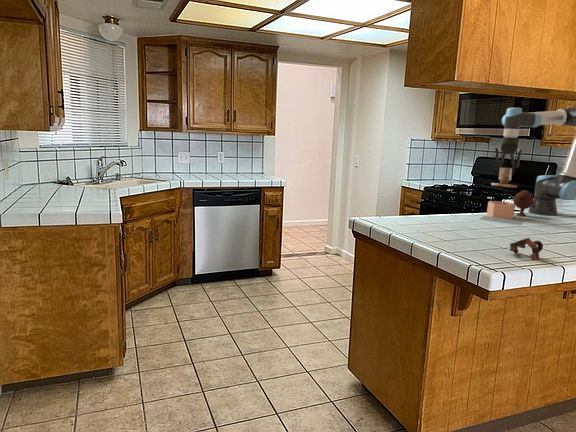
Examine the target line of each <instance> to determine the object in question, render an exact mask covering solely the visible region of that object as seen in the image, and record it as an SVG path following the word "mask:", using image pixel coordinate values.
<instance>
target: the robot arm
mask: <svg viewBox="0 0 576 432" xmlns="http://www.w3.org/2000/svg"><path fill="white" fill-rule="evenodd" d="M501 124H502V125H503V126H504V128H503V134H502V136H503V137H502V142H501V145H500V147H496V148H495V161H494V166H495V167H497V173H496V174H498V180H499V181H500V178H501V171H502V168H503V167H502V165H503V163H504V160H505V158H506V155H509V156H510V163H511V167H510V168H511V169H510V174H509V182H510V181H512V176H513V175H515V169H518V168H519V166H520V161H521V155H522V153H523V149H521V148H519V147H518V142H519V138H518V137H519V136H520V135H519V134H520V128H538V127H539V126H546V125H547V126H548V125H556V126H558V127H559V126H561V127H562V126H567V127H574V130H575V131H576V106H572V107H566V108H558V109H557V110H549V111H535V112H532V111H531V112H525V111H524V112H523V108H521V107H508V108H507V109H506V112H505V114H504V115H503V116H502V118H501ZM516 151H517V157H516V163H515V154H514V153H516ZM500 152H502V155H501V157H500ZM499 158H500V160H499ZM557 199H558V200H563V201H574V200H575V199H576V132H575V133H574V136H573V139H572V142H571V145H570V147H569V151H568V153H567V157H566V159H565V163H564V165H563V169H562V171H561V172H559V173H558V174H557V175H556V174H554V175H551V174H549V175H547V174H546V175H543V174H542V175H538V176H537V177H536V181H535V186H534V196H533V200H534V203H533V204H532V206H530V207H529V208H528V212H529V213H532V214H536V215H543V216H557V215H558V207H557V203H556V201H557Z"/></svg>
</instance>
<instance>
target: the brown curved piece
mask: <svg viewBox="0 0 576 432" xmlns="http://www.w3.org/2000/svg"><path fill="white" fill-rule="evenodd" d="M526 245H527V246H528V247H529V248H531V251H532V253H531V254H529V257H530V260H531V261H536V260H539V259H540V252H541V251H542V250H543V248H544V244H543V243H542V242H541V240H535V241H533V240H531V239H530V237H526V238H523V239H520V240H518V241H516V242H512V243H509V247H510V248H509V251H511V252H513V253H514V254H518V253H519V249H518V248H522V249H526Z"/></svg>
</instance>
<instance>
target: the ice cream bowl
mask: <svg viewBox="0 0 576 432" xmlns="http://www.w3.org/2000/svg"><path fill="white" fill-rule="evenodd" d="M512 201H513V204H515V207H516V208H518V209H519V210H520V211H519V213H516V215H515V216H517V217H521V218H522V217H527V215H526V214H525V209H529V207H530V206H532V204H533V203H534V197H533V196H531V193H530V191H529V190H525V189H524V190H521V191H520V192H517V193H516V194H515V195H514V198H512Z"/></svg>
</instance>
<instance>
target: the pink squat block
mask: <svg viewBox="0 0 576 432" xmlns="http://www.w3.org/2000/svg"><path fill="white" fill-rule="evenodd" d="M515 209H516V205H515V204H514V202H513V203H512V202H506V201H500V200H499V201H496V200H494V201H492V200H490V201H488V202H487V209H486V216H490V217H496V218H505V219H513V218H514V216H515Z"/></svg>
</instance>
